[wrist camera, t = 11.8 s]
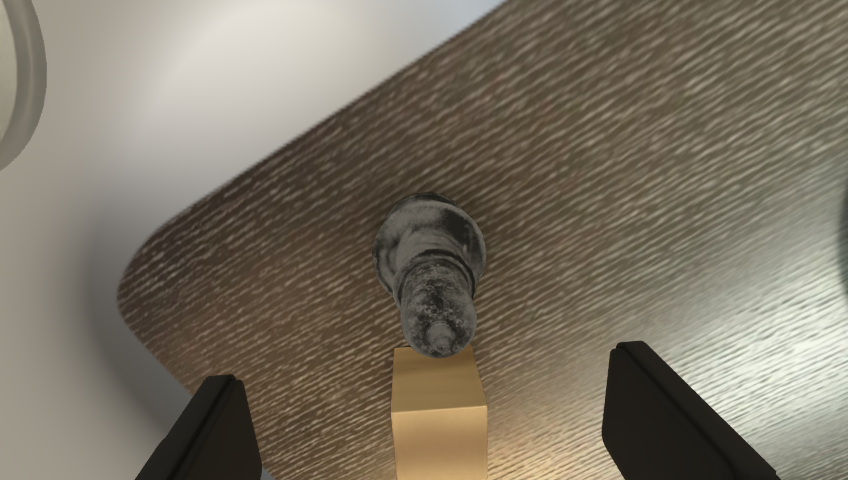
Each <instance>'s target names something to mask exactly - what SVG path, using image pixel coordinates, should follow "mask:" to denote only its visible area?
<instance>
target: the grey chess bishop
mask: <svg viewBox="0 0 848 480" xmlns="http://www.w3.org/2000/svg"><path fill="white" fill-rule="evenodd" d="M372 258H373V268H374V271H375V273H376V276H377V278H378V281H379V282H380V283H381V285H382V286H383V288H384V289H385V290H386V292H388V293H389V294H390V295H391V296H393V298H394V300H395V303H396V306H397V307H398V309H399V310H400V312H401V329H402V332H403V334H404V337H405V339H406V341H407V342H408V344H409V345H410V347H411V348H412V349H414V350H415V351H416V352H417V353H419V354H422V355H424V356H426V357H431V358H446V357H449V356H453V355H455V354H457V353H459V352H460V351H462V350H463V349H464V348H465V347H466V346H467V345H469V343H470V342H471V340H472V338H473V337H474V334H475V331H476V327H477V313H476V310H475V306H474V303H473V299H474V296H475V292H476V284H477V283H478V281H479V279H480V278H481V276H482V274H483V271H484V267H485V264H486V245H485V241H484V238H483V234H482V232H481V231H480V229H479V227H478V226H477V224H476V223H475V221H474V220H473V219H472V218H471V217H470V216H469V215H467V214H466V213H465V212H464V211H463V210H462V208H461V207H460V206H458V205H457V204H456V203H455V202H454V201H453V200H451V199H449V198H447V197H445V196H443V195H440V194H435V193H418V194H414V195H411V196H408V197H406V198H405V199H403V200H401V201H400V202H398V203H397V204H396V205H395V206H394V207H393V208H392V209H391V210H390V212H389V213H388V215H387V217H386V219H385V221H384V224H383V225H382V226H381V228H380V230H379V232H378V234H377V236H376V238H375V241H374V246H373V251H372Z"/></svg>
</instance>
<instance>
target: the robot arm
mask: <svg viewBox="0 0 848 480" xmlns="http://www.w3.org/2000/svg"><path fill="white" fill-rule="evenodd" d="M602 439H603V442H604V445H605V447H606V449H607V450H608V452H609V454H610V455H611V457H612V459H613V460H614V462H615V464H616V465H617V467H618V469H619V470H620V472H621V474H622V475H623V477H624V479H625V480H781V479H780V478H779V477H778V476H777V475H776V471H775V470H774V469H773V468H772V467H771V466H770V465H769V464H768V463H767V462H766V461H765V460H764V459H763V458H762V457H761V456H760V455H759V454H758V453H757V452H756V451H755V450H754V449H753V448H752V447H751V446H750V445H749V444H748V443H747V442H746V441H745V440H744V439H743V438H742V437H741V436H740V435H739V434H738V433H737V432H736V431H735V430H734V429H733V428H732V427H731V426H730V425H729V424H728V423H727V422H726V421H725V420H724V419H722V418H721V417H720V416H719V415H718V414H717V413H716V412H715V411H714V410H713V409H712V408H711V407H710V406H709V405H708V404H707V403H706V402H705V401H704V400H703V399H702V398H701V397H700V396H699V395H698V394H697V393H696V392H695V391H694V390H693V389H692V388H691V387H690V386H689V385H688V384H687V383H686V382H685V381H684V380H683V379H682V378H681V377H680V376H679V375H678V374H677V373H676V372H675V371H674V370H673V369H672V368H671V367H670V366H669V365H668V364H667V363H666V362H665V361H663V360H662V359H661V358H660V357H659V356H658V355H657V354H656V353H655V352H654V351H653V350H652V349H651V348H650V347H649V346H648V345H647V344H646V343H645V342H643V341H631V342H620V343H618V344H617V346H616V349H612V350H611V352H610V359H609V368H608V377H607V387H606V396H605V405H604V414H603V423H602ZM261 473H262V462H261V458H260V453H259V449H258V445H257V440H256V436H255V432H254V427H253V423H252V419H251V414H250V410H249V406H248V401H247V397H246V393H245V388H244V384H243V382H242V380H236V378H235V376H234V375H232V374H229V375H217V376H209V377H207V378H206V379H205V380H204V381H203V383H202V384H201V386H200V387H199V389H198V390H197V392H196V393H195V395H194V396H193V398H192V399H191V401H190V402H189V404H188V405H187V407H186V408H185V410H184V411H183V412H182V414H181V416H180V417H179V418H178V420H177V421H176V423H175V424H174V426H173V427H172V429H171V430H170V432H169V433H168V435H167V436H166V438H165V439H163V440H162V442H161V443H160V444H159V445H158V446H157V448H156V449H155V451H154V452H153V454H152V455H151V457H150V458H149V460H148V461H147V462H146V464H145V465H144V467H143V468H142V470H141V472H140V473H139V474H138V476H137V477H136V479H135V480H260V478H261Z"/></svg>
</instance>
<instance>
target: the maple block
mask: <svg viewBox="0 0 848 480" xmlns="http://www.w3.org/2000/svg"><path fill="white" fill-rule="evenodd" d="M391 421H392V431H393V442H394V453H395V463H396V474H397V480H487V479H488V427H487V403H486V399H485V395H484V391H483V388H482V384H481V380H480V376H479V373H478V369H477V365H476V361H475V357H474V354H473V350H472V346H471V343H469V345H467V346H466V347H465V348H464V349H463V350H462V351H460V352H459V353H457V354H455V355H453V356H449V357H446V358H431V357H426V356H424V355H422V354H419V353H417V352H416V351H415V350H414V349H412V348H411V347H402V348H394V360H393V380H392V399H391Z"/></svg>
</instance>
